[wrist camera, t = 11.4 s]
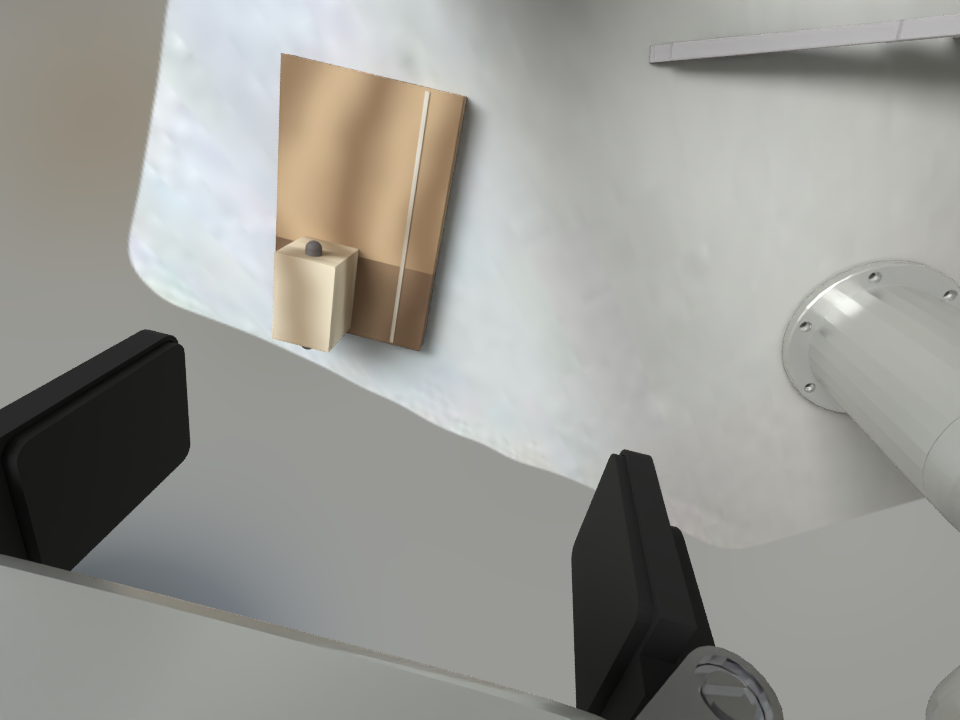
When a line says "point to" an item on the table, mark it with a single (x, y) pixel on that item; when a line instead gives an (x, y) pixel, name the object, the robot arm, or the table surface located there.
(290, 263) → the beige block with knob
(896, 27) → the caliper
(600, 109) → the table surface
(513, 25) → the table surface
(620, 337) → the table surface
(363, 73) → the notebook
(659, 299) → the table surface
